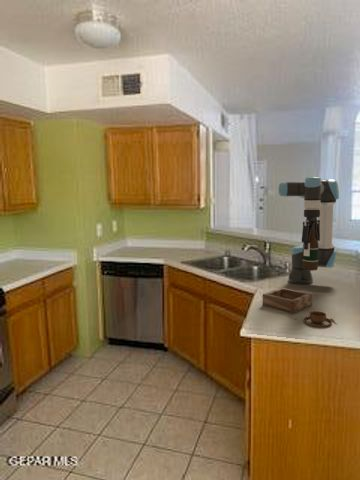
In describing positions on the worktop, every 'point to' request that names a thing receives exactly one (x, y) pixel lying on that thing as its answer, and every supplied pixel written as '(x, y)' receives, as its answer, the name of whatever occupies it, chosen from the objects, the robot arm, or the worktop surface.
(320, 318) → the brown cup and saucer
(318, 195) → the robot arm
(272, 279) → the worktop surface
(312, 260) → the beer bottle
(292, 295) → the caddy
